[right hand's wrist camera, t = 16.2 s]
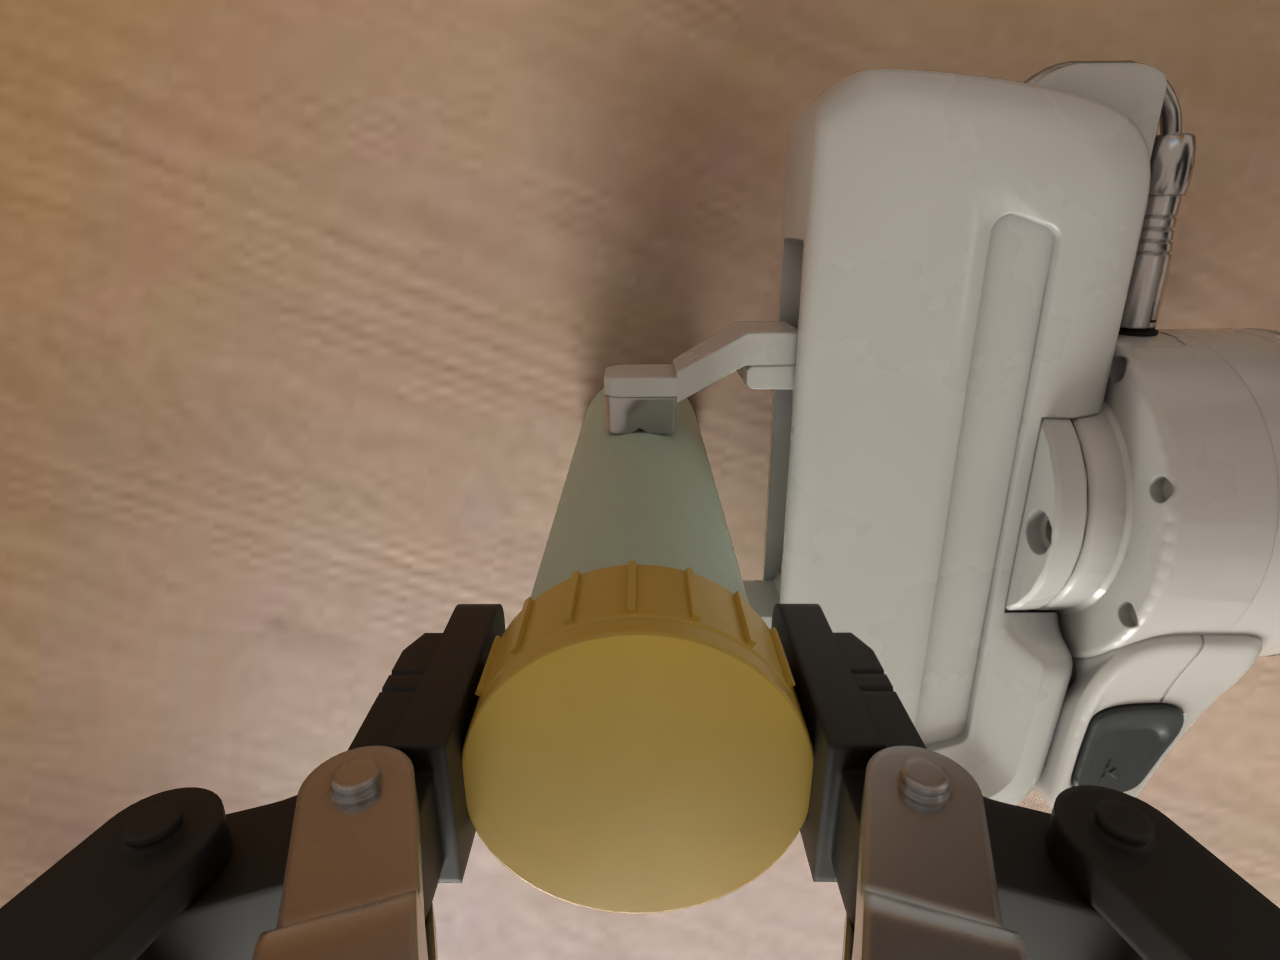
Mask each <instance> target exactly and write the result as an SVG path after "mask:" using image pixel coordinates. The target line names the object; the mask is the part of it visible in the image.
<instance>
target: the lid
mask: <svg viewBox="0 0 1280 960" xmlns="http://www.w3.org/2000/svg"><path fill="white" fill-rule="evenodd" d="M793 686H795V682H794V679H793V676H792V673H791V670H790V667H789V664H788V661H787V658H786V655H785V652H784V649H783V646H782V643H781V640H780V637H779V635H778V632H777V630H776V628H775V627H773V628H771V629H769V628H768V626H767V625H766V623H765V622H764V620H763V619H762V618H761V617H760V616H759V615H758V614H757V613H756V612H755V611H754V610H753V608H752V607H750V606H749V605H748V604H747V603H746V602H745V600H744V597H743V594H742V593H741V592H739V591H736V593H735V594H734V593H732V592H731V591H729V590H728V589H726V588H724V587H723V586H721V585H719V584H717V583H715V582H713V581H711V580H709V579H706V578H704V577H702V576H700V575H697V574H694V570H693V569H692V568H688V567H687V568H686V570H685V571H684V570H681V569H676V568H670V567H665V566H658V565H643V564H636V561H628V565H617V566H612V567H606V568H600V569H596V570H593V571H589V572H586V573H582V574H580V573H579V571H576V572H573V573H572V575H571V578H570V579H567V580H565V581H563V582H561V583H559V584H557V585H555V586H554V587H552V588H550V589H549V590H547V591H545V592H544V593H542V594H541V595H539V596H538V597H537V598H536V599H534V600H533V599H532V598H531V597H529V598H528V599H527V600H525V603H524V606H523V609H522V611H521V612H520V613H519V614H518V615H517V616H516V617H515V618H514V619H513V621H512V622H511V624H510V625H509V626H508V628H507V629H506V631H505V632H504V633H503V635H502V637H499V636H496V637H495V639H494V641H493V644H492V647H491V650H490V653H489V655H488V658H487V661H486V664H485V667H484V670H483V672H482V675H481V678H480V681H479V684H478V687H477V690H476V692H475V695H477V696H479V699H478V702H477V705H476V708H475V711H474V714H473V717H472V720H471V722H470V725H469V728H468V732H467V735H466V738H465V741H464V744H463V749H462V766H463V776H464V785H465V794H466V803H467V810H468V814H469V817H470V820H471V821H472V823H473V825H474V827H475V829H476V831H477V833H478V835H479V836H480V838H481V839H482V840H483V842H484V843H485V844H486V846H487V847H488V849H489V850H490V851H491V852H492V853H493V854H494V855H495V856H496V858H497V859H498V860H499V861H500V862H501V863H502V864H503V865H504V866H506V867H507V868H508V869H509V870H510V871H512V872H513V873H514V874H515V875H517V876H518V877H519V878H521V879H522V880H524V881H525V882H527V883H529V884H530V885H532V886H533V887H535V888H537V889H539V890H541V891H543V892H545V893H547V894H549V895H551V896H553V897H555V898H558V899H561V900H564V901H566V902H569V903H572V904H575V905H579V906H583V907H587V908H591V909H595V910H602V911H608V912H615V913H633V914H641V913H660V912H667V911H674V910H680V909H685V908H689V907H693V906H697V905H701V904H704V903H706V902H709V901H712V900H715V899H718V898H720V897H722V896H725V895H727V894H729V893H731V892H733V891H735V890H737V889H739V888H741V887H742V886H744V885H746V884H747V883H749V882H750V881H752V880H754V879H755V878H756V877H758V876H759V875H760V874H762V873H763V872H764V871H765V870H767V869H768V868H769V867H770V866H771V865H772V864H773V863H774V862H775V861H776V860H777V859H778V858H779V857H780V856H781V855H782V854H783V853H784V852H785V851H786V849H787V848H788V847H789V846H790V844H791V843H792V842H793V840H794V839H795V838H796V836H797V834H798V832H799V830H800V829H801V827H802V825H803V823H804V821H805V819H806V816H807V813H808V808H809V800H810V791H811V781H812V772H813V760H814V750H813V745H812V742H811V739H810V735H809V732H808V729H807V726H806V723H805V720H804V717H803V714H802V711H801V708H800V705H799V702H798V699H797V696H796V693H795V690H794V687H793Z"/></svg>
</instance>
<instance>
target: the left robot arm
mask: <svg viewBox="0 0 1280 960" xmlns="http://www.w3.org/2000/svg"><path fill="white" fill-rule="evenodd" d="M1159 120H1160V135H1156V133H1157V128H1158V124H1159ZM1181 132H1182V114H1181V108H1180V105H1179V101H1178V98H1177V96H1176V93H1175V91H1174V89H1173V88H1172V86H1171V85H1170V83H1169V82H1168V81H1167V79H1166V76H1165V75H1164V73H1163V72H1162V71H1161V70H1159V69H1157V68H1155V67H1152V66H1150V65H1146V64H1142V63H1138V62H1133V61H1069V62H1064V63H1058V64H1056V65H1053V66H1050V67H1047V68H1045V69H1043V70H1041V71H1039V72H1038V73H1036V74H1034V75H1032V76H1031V77H1030V78H1029V79H1027V80H1026V81H1025V82H1017V81H1011V80H1005V79H998V78H992V77H985V76H977V75H969V74H961V73H951V72H941V71H928V70H910V69H869V70H863V71H860V72H856V73H853V74H851V75H848V76H846V77H843V78H842V79H840V80H838V81H837V82H835V83H834V84H832V85H831V86H830V87H828V88H827V89H826V90H824V91H823V92H822V93H821V94H820V95H819V96H818V97H817V98H816V99H815V100H814V101H813V102H812V103H811V104H810V105H809V106H808V107H807V108H806V109H805V110H804V111H803V112H802V113H801V114H800V115H799V116H798V118H797V119H796V120H795V121H794V123H793V124H792V126H791V128H790V131H789V136H788V147H787V163H786V180H785V197H784V215H783V232H782V250H781V267H780V284H779V302H778V319H777V321H755V322H734V323H733V324H731V325H729V326H728V327H726V328H724V329H723V330H721V331H719V332H718V333H716V334H714V335H713V336H711V337H709V338H708V339H706V340H704V341H703V342H701V343H699V344H698V345H696V346H694V347H693V348H691V349H689V350H688V351H686V352H684V353H683V354H681V355H679V356H678V357H676V358H674V359H673V363H672V364H628V365H615V366H610V367H606V369H605V373H604V399H605V421H606V431H608V432H609V433H615V434H631V433H633V432H635V431H636V430H638V429H639V428H640V429H642V430H643V431H645V432H646V433H650V434H674V429H675V398H676V403H678V402H680V401H682V400H684V399H685V398H687V397H689V396H691V395H693V394H695V393H696V392H698V391H700V390H702V389H704V388H706V387H707V386H709V385H711V384H713V383H715V382H716V381H718V380H720V379H722V378H724V377H726V376H727V375H729V374H731V373H733V372H735V371H737V372H738V373H739V375H740V376H741V378H742V379H743V381H744V382H745V384H746V385H747V386H748V387H749V388H750V389H773V406H772V424H771V441H770V458H769V476H768V493H767V510H766V528H765V545H764V563H763V580H760V581H743V584H744V588H745V591H746V595H747V598H748V602H749V605H750V607H752V608H753V610H754V611H755V612H756V613H757V614H758V615H759V616H760V617H761V618H762V619H763V620H764V622H765V623H766V625H767V626H768V628H769V629H771V626H772V614H773V609H774V606H775V604H819V605H820V607H821V608H822V610H823V613H824V615H825V617H826V619H827V621H828V623H829V625H830V627H831V630H832V632H851V633H852V634H854V635H855V636H856V637H857V638H859V639H860V640H861V641H862V642H864V643H865V644H866V645H867V646H869V647H870V648H871V649H872V650H873V651H874V653H875V655H876V656H877V658H878V660H879V662H880V664H881V666H882V667H883V669H884V674H886V675H887V677H888V678H889V680H890V682H891V684H892V686H893V691H894V692H896V693H897V695H898V697H899V699H900V700H901V702H902V704H903V706H904V708H905V710H906V711H907V713H908V715H909V717H910V719H911V721H912V722H913V724H914V726H915V728H916V730H917V732H918V733H919V735H920V737H921V739H922V741H923V743H924V744H925V746H926V748H927V749H929V750H932V751H934V752H937V753H940V754H942V755H944V756H946V757H948V758H950V759H951V760H953V761H955V762H956V763H958V764H959V765H960V766H962V767H963V768H964V769H965V770H966V771H967V772H968V773H969V774H970V775H971V776H972V777H973V778H974V779H975V781H976V782H977V784H978V785H979V787H980V789H981V792H982V796H984V797H987V798H989V799H993V800H996V801H999V802H1003V803H1007V804H1011V805H1017V804H1018V803H1020V802H1021V801H1022V800H1023V799H1024V798H1025V797H1026V796H1027V795H1029V793H1030V792H1031V791H1032V789H1033V788H1034V789H1035V790H1036V791H1037V792H1038V793H1039V795H1040V796H1041V797H1042V798H1043V799H1044V800H1045V802H1046V803H1047V804H1048V805H1049V806H1050V807H1051V808H1052V809H1053V806H1054V802H1055V800H1056V797H1057V796H1058V795H1059V794H1060V793H1061V792H1062V791H1064V790H1065V789H1067V788H1070V787H1074V786H1080V785H1092V786H1101V787H1106V788H1110V789H1114V790H1117V791H1120V792H1123V793H1126V794H1128V795H1131V796H1133V797H1135V798H1136V797H1137V796H1138V794H1139V793H1140V792H1141V790H1142V789H1143V787H1144V786H1145V785H1146V783H1147V782H1148V780H1149V779H1150V778H1151V776H1152V775H1153V773H1154V772H1155V771H1156V769H1157V768H1158V767H1159V765H1160V764H1161V762H1162V761H1163V760H1164V758H1165V757H1166V756H1167V754H1168V753H1169V752H1170V751H1171V749H1172V748H1173V747H1174V746H1175V744H1176V743H1177V742H1178V741H1179V739H1180V738H1181V737H1182V736H1183V734H1184V733H1185V732H1186V731H1187V730H1188V729H1189V728H1190V726H1191V725H1192V724H1193V723H1194V722H1195V721H1196V720H1197V718H1198V717H1199V716H1200V715H1201V714H1202V713H1203V712H1204V711H1205V710H1206V709H1207V708H1208V707H1209V706H1210V705H1211V704H1212V703H1213V702H1214V701H1215V700H1216V699H1217V698H1218V697H1219V696H1221V695H1222V694H1223V693H1224V692H1225V691H1226V690H1227V689H1228V688H1230V687H1231V686H1232V685H1233V684H1234V683H1235V682H1236V681H1238V680H1239V679H1240V678H1241V677H1242V676H1243V675H1244V674H1245V673H1246V672H1247V671H1248V670H1249V668H1250V667H1251V666H1252V665H1253V663H1254V662H1255V661H1256V659H1257V658H1258V657H1267V656H1275V655H1280V331H1279V330H1269V329H1254V328H1235V329H1155V327H1156V323H1157V319H1158V315H1159V311H1160V307H1161V302H1162V298H1163V294H1164V290H1165V286H1166V281H1167V277H1168V273H1169V267H1170V261H1171V256H1172V255H1171V254H1170V252H1171V251H1172V242H1171V240H1172V239H1173V235H1174V231H1173V230H1172V229H1173V228H1174V227H1175V223H1176V218H1175V216H1176V215H1177V214H1178V210H1179V206H1180V202H1181V198H1182V195H1186V192H1187V190H1188V187H1189V184H1190V181H1191V177H1192V173H1193V168H1194V163H1195V151H1196V137H1195V135H1194V134H1190V133H1181Z"/></svg>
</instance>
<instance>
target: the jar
mask: <svg viewBox="0 0 1280 960" xmlns="http://www.w3.org/2000/svg"><path fill="white" fill-rule="evenodd" d="M628 561H636V564H643V565H658V566H665V567H670V568H676V569H681V570H684V571H685V570H686V568H687V567H688V568H692V569H693V570H694V574H697V575H700V576H702V577H704V578H706V579H709V580H711V581H713V582H715V583H717V584H719V585H721V586H723V587H724V588H726V589H728V590H729V591H731V592H732V593H734V594H735V593H736V591H739V592H741V593H742V594H743V597H744V600H745V602H746V603H747V604H748V605H749V602H748V598H747V595H746V591H745V588H744V584H743V580H742V577H741V573H740V570H739V566H738V563H737V559H736V556H735V552H734V549H733V545H732V542H731V538H730V535H729V531H728V528H727V524H726V521H725V517H724V514H723V510H722V506H721V503H720V499H719V496H718V492H717V489H716V485H715V482H714V478H713V475H712V471H711V468H710V464H709V461H708V457H707V454H706V450H705V447H704V443H703V439H702V436H701V432H700V429H699V425H698V422H697V418H696V415H695V412H694V409H693V407H692V405H691V403H690V402H689V400H688V399H687V398H685V399H684V400H682V401H680V402H678V403H676V398H675V429H674V434H650V433H646V432H645V431H643V430H642V429H640V428H639V429H638V430H636V431H635V432H633V433H631V434H615V433H609V432H608V431H606V421H605V399H604V388H602V389H601V390H600V391H599V392H598V393H597V394H596V396H595V397H594V398H593V400H592V401H591V403H590V404H589V407H588V409H587V411H586V414H585V418H584V421H583V424H582V428H581V431H580V434H579V438H578V441H577V444H576V448H575V451H574V454H573V458H572V461H571V464H570V468H569V471H568V474H567V478H566V481H565V484H564V488H563V491H562V494H561V498H560V501H559V504H558V508H557V511H556V514H555V518H554V521H553V524H552V528H551V531H550V534H549V538H548V541H547V545H546V548H545V551H544V555H543V558H542V561H541V565H540V568H539V571H538V575H537V578H536V581H535V585H534V588H533V591H532V595H531V598H532V599H533V600H534V599H536V598H537V597H538V596H539V595H541V594H542V593H544V592H545V591H547V590H549V589H550V588H552V587H554V586H555V585H557V584H559V583H561V582H563V581H565V580H567V579H570V578H571V575H572V573H573V572H576V571H579V573H580V574H582V573H586V572H589V571H593V570H596V569H600V568H606V567H612V566H617V565H628ZM749 606H750V605H749Z"/></svg>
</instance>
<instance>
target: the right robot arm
mask: <svg viewBox="0 0 1280 960" xmlns="http://www.w3.org/2000/svg"><path fill="white" fill-rule="evenodd" d="M773 627H775V628H776V630H777V632H778V635H779V637H780V640H781V643H782V646H783V649H784V652H785V655H786V658H787V661H788V664H789V667H790V670H791V673H792V676H793V679H794V682H795V686H793V687H794V690H795V693H796V696H797V699H798V702H799V705H800V708H801V711H802V714H803V717H804V720H805V723H806V726H807V729H808V732H809V735H810V739H811V742H812V745H813V750H814V760H813V772H812V781H811V791H810V800H809V808H808V813H807V816H806V819H805V821H804V823H803V825H802V827H801V829H800V832H801V836H802V839H803V843H804V847H805V851H806V855H807V858H808V862H809V866H810V870H811V874H812V877H813V881H814V882H837V883H838V886H839V889H840V893H841V896H842V900H843V903H844V906H845V909H846V918H845V925H844V939H843V954H842V960H1280V908H1278V907H1277V906H1276V905H1275V904H1273V903H1272V902H1271V901H1270V900H1269V899H1267V898H1266V897H1265V896H1264V895H1262V894H1261V893H1260V892H1259V891H1257V890H1256V889H1255V888H1254V887H1253V886H1251V885H1250V884H1249V883H1248V882H1246V881H1245V880H1244V879H1243V878H1242V877H1240V876H1239V875H1238V874H1237V873H1235V872H1234V871H1233V870H1232V869H1230V868H1229V867H1228V866H1227V865H1226V864H1224V863H1223V862H1222V861H1221V860H1219V859H1218V858H1217V857H1216V856H1214V855H1213V854H1212V853H1211V852H1210V851H1208V850H1207V849H1206V848H1205V847H1203V846H1202V845H1201V844H1200V843H1199V842H1197V841H1196V840H1195V839H1194V838H1192V837H1191V836H1190V835H1189V834H1187V833H1186V832H1185V831H1184V830H1183V829H1181V828H1180V827H1179V826H1178V825H1176V824H1175V823H1174V822H1173V821H1171V820H1170V819H1169V818H1168V817H1166V816H1165V815H1164V814H1162V813H1161V812H1160V811H1158V810H1157V809H1155V808H1154V807H1152V806H1150V805H1149V804H1147V803H1145V802H1143V801H1141V800H1139V799H1137V798H1135V797H1133V796H1131V795H1128V794H1126V793H1123V792H1120V791H1117V790H1114V789H1110V788H1106V787H1101V786H1092V785H1080V786H1074V787H1070V788H1067V789H1065V790H1064V791H1062V792H1061V793H1060V794H1059V795H1058V796H1057V797H1056V800H1055V802H1054V806H1053V810H1052V814H1049V813H1045V812H1041V811H1036V810H1032V809H1028V808H1024V807H1020V806H1016V805H1011V804H1007V803H1003V802H999V801H996V800H993V799H989V798H987V797H984V796H982V792H981V789H980V787H979V785H978V784H977V782H976V781H975V779H974V778H973V777H972V776H971V775H970V774H969V773H968V772H967V771H966V770H965V769H964V768H963V767H962V766H960V765H959V764H958V763H956V762H955V761H953V760H951V759H950V758H948V757H946V756H944V755H942V754H940V753H937V752H934V751H932V750H929V749H927V748H926V746H925V744H924V743H923V741H922V739H921V737H920V735H919V733H918V732H917V730H916V728H915V726H914V724H913V722H912V721H911V719H910V717H909V715H908V713H907V711H906V710H905V708H904V706H903V704H902V702H901V700H900V699H899V697H898V695H897V693H896V692H894V691H893V686H892V684H891V682H890V680H889V678H888V677H887V675H886V674H884V669H883V667H882V666H881V664H880V662H879V660H878V658H877V656H876V655H875V653H874V651H873V650H872V649H871V648H870V647H869V646H867V645H866V644H865V643H864V642H862V641H861V640H860V639H859V638H857V637H856V636H855V635H854V634H852V633H851V632H832V630H831V627H830V625H829V623H828V621H827V619H826V617H825V615H824V613H823V610H822V608H821V607H820V605H819V604H775V606H774V609H773V614H772V626H771V628H773ZM504 632H505V620H504V612H503V608H502V605H501V604H458V605H457V606H456V607H455V609H454V611H453V614H452V616H451V618H450V620H449V622H448V624H447V626H446V628H445V630H444V632H443V633H425V634H423V635H422V636H421V637H420V638H418V639H417V640H416V641H415V642H413V643H412V644H411V645H409V646H408V647H407V648H406V649H404V650H403V652H402V653H401V655H400V657H399V659H398V661H397V662H396V664H395V666H394V668H393V670H392V675H389V677H388V679H387V680H386V682H385V684H384V686H383V688H382V692H380V693H379V695H378V697H377V699H376V700H375V702H374V704H373V706H372V708H371V709H370V711H369V713H368V715H367V717H366V718H365V720H364V722H363V724H362V726H361V727H360V729H359V731H358V733H357V735H356V736H355V738H354V740H353V742H352V744H351V745H350V747H349V749H348V751H346V752H343V753H340V754H338V755H336V756H334V757H332V758H330V759H329V760H327V761H325V762H324V763H322V764H321V765H320V766H318V767H317V768H316V769H315V770H314V771H313V772H312V773H311V774H310V775H309V776H308V777H307V778H306V779H305V781H304V782H303V784H302V786H301V787H300V789H299V792H298V795H296V796H294V797H291V798H288V799H286V800H283V801H279V802H276V803H272V804H268V805H264V806H260V807H256V808H252V809H247V810H243V811H239V812H235V813H231V814H227V815H226V814H225V810H224V806H223V803H222V801H221V799H220V798H219V797H218V795H216V794H215V793H213V792H212V791H209V790H206V789H202V788H179V789H173V790H168V791H164V792H161V793H158V794H155V795H152V796H150V797H147V798H145V799H142V800H140V801H138V802H136V803H135V804H133V805H131V806H129V807H127V808H126V809H124V810H122V811H121V812H119V813H118V814H117V815H115V816H114V817H112V818H111V819H110V820H108V821H107V822H106V823H105V824H104V825H102V826H101V827H100V828H99V829H97V830H96V831H95V832H94V833H93V834H91V835H90V836H89V837H88V838H86V839H85V840H84V841H83V842H81V843H80V844H79V845H78V846H77V847H75V848H74V849H73V850H72V851H70V852H69V853H68V854H67V855H65V856H64V857H63V858H62V859H61V860H59V861H58V862H57V863H56V864H54V865H53V866H52V867H51V868H50V869H48V870H47V871H46V872H45V873H43V874H42V875H41V876H40V877H38V878H37V879H36V880H35V881H34V882H32V883H31V884H30V885H29V886H27V887H26V888H25V889H24V890H22V891H21V892H20V893H19V894H18V895H16V896H15V897H14V898H13V899H11V900H10V901H9V902H8V903H7V904H5V905H4V906H3V907H2V908H0V960H438V954H437V939H436V925H435V917H434V910H433V903H432V901H433V897H434V894H435V891H436V887H437V884H438V883H462V880H463V876H464V872H465V869H466V865H467V861H468V858H469V854H470V850H471V847H472V843H473V839H474V835H475V832H476V829H475V827H474V825H473V823H472V821H471V820H470V817H469V814H468V810H467V803H466V794H465V785H464V776H463V766H462V749H463V744H464V741H465V738H466V735H467V732H468V728H469V725H470V722H471V720H472V717H473V714H474V711H475V708H476V705H477V702H478V699H479V696H477V695H475V692H476V690H477V687H478V684H479V681H480V678H481V675H482V672H483V670H484V667H485V664H486V661H487V658H488V655H489V653H490V650H491V647H492V644H493V641H494V639H495V637H496V636H499V637H502V635H503V633H504Z"/></svg>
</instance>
